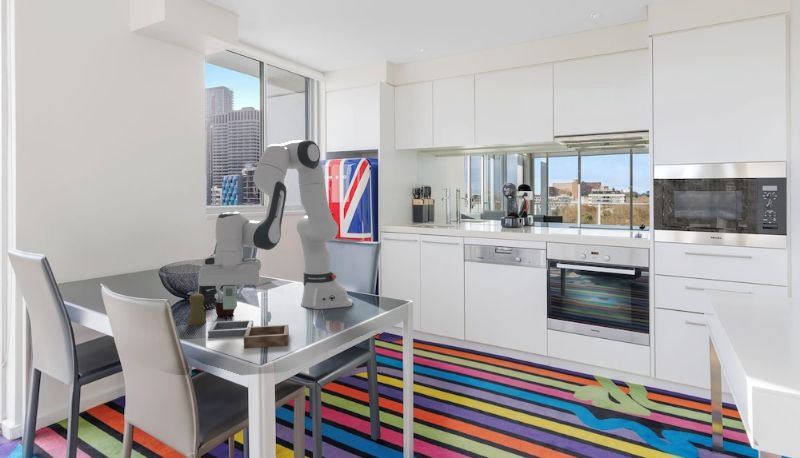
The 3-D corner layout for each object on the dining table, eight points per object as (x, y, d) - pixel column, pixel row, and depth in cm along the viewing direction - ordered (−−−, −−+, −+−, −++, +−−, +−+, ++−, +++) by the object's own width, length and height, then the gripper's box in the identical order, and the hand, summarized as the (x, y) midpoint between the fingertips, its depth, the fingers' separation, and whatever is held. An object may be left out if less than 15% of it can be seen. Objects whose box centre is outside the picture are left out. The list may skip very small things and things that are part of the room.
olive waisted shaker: (200, 319, 173) (199, 291, 172) (209, 322, 169) (208, 293, 168) (185, 323, 168) (184, 294, 167) (194, 326, 164) (193, 296, 163)
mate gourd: (216, 320, 172) (215, 281, 171) (214, 315, 179) (213, 278, 178) (237, 318, 175) (236, 280, 174) (234, 313, 182) (233, 276, 181)
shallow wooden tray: (288, 334, 156) (288, 324, 156) (287, 345, 145) (287, 334, 144) (248, 336, 153) (247, 326, 153) (243, 348, 142) (243, 337, 142)
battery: (203, 311, 184) (202, 284, 183) (197, 310, 186) (196, 283, 185) (218, 308, 190) (217, 281, 189) (212, 306, 192) (212, 280, 191)
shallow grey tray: (253, 325, 166) (253, 319, 165) (249, 335, 155) (249, 329, 154) (214, 327, 163) (214, 321, 163) (208, 337, 152) (208, 331, 152)
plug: (237, 306, 160) (236, 284, 160) (235, 309, 156) (234, 286, 155) (225, 306, 159) (224, 284, 159) (222, 309, 155) (222, 286, 154)
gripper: (261, 256, 162) (261, 294, 163) (200, 257, 157) (201, 296, 158) (259, 259, 156) (260, 298, 157) (196, 260, 151) (197, 300, 152)
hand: (230, 297), depth 158 cm, fingers closed on plug, 4 cm apart
